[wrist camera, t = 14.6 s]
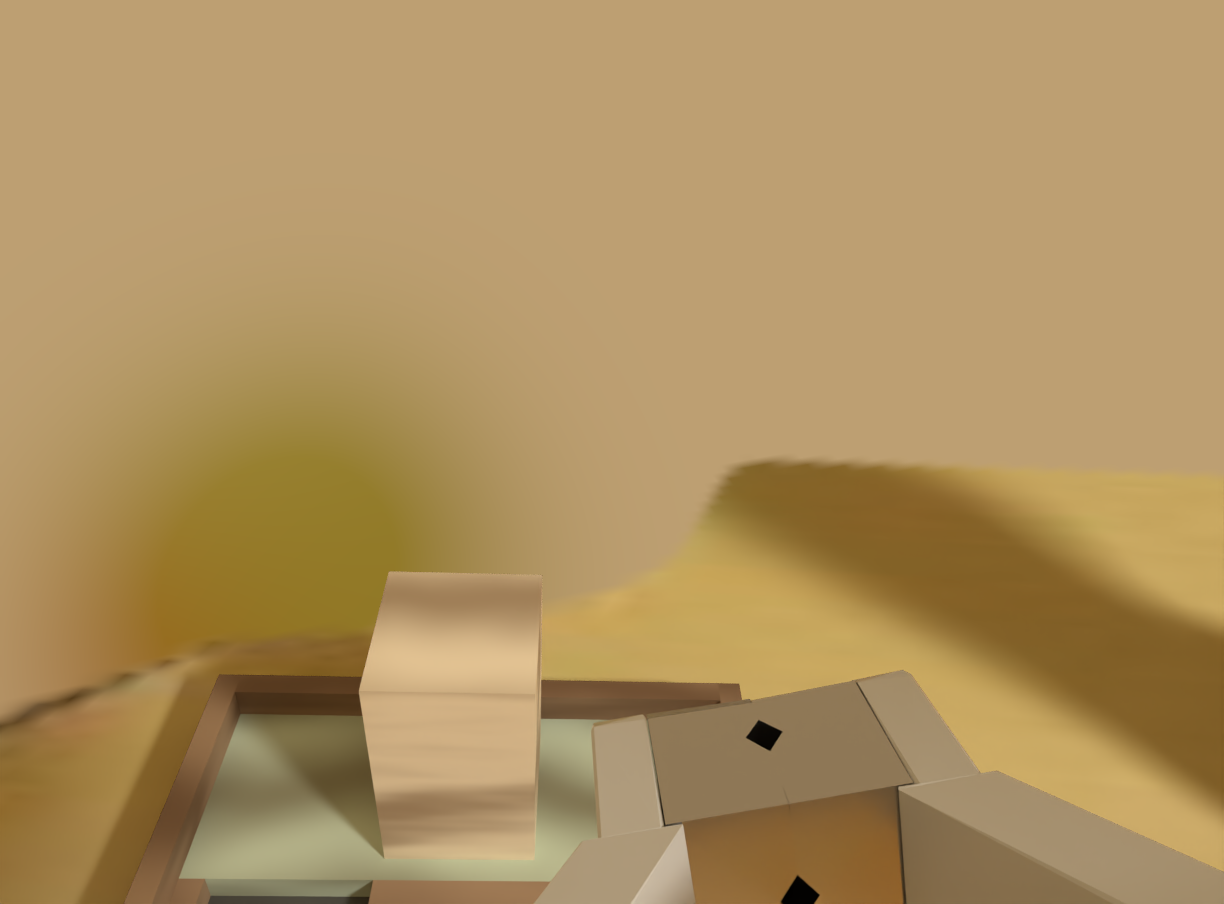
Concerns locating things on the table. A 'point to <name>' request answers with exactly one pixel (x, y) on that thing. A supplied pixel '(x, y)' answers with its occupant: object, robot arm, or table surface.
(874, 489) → the table surface
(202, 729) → the tray
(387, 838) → the maple block
